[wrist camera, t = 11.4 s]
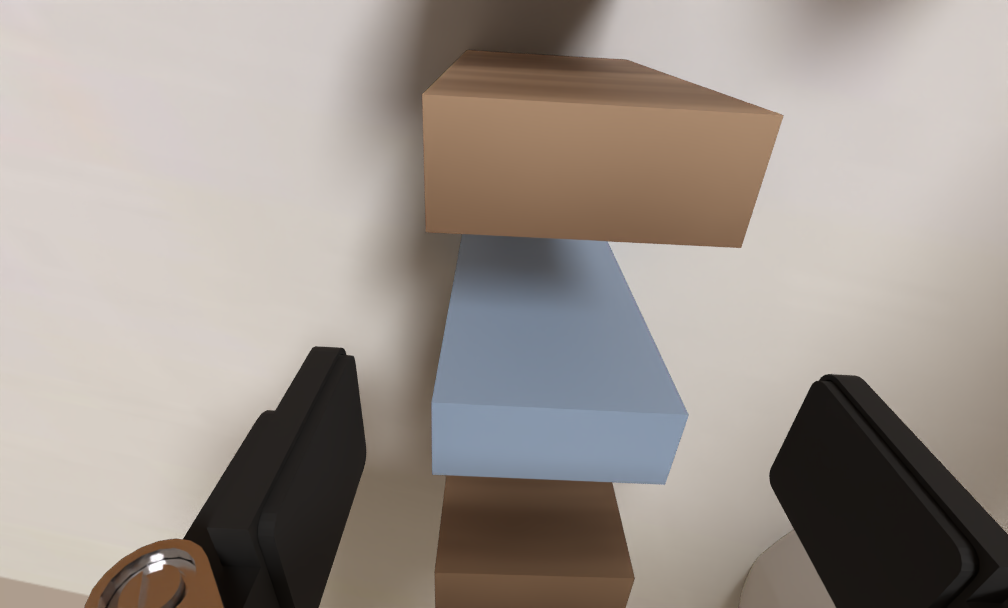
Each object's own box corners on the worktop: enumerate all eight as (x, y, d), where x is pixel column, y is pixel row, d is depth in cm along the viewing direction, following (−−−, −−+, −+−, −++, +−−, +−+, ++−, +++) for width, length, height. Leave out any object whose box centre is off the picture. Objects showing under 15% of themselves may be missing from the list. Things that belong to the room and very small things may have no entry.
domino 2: (462, 342, 21) (434, 572, 12) (580, 347, 21) (634, 578, 12) (461, 379, 22) (435, 616, 13) (574, 383, 22) (621, 621, 13)
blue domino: (465, 217, 18) (431, 402, 9) (600, 226, 18) (688, 415, 10) (463, 266, 19) (432, 474, 10) (591, 274, 19) (665, 484, 11)
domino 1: (466, 50, 15) (422, 94, 7) (626, 59, 16) (783, 115, 7) (465, 117, 16) (425, 232, 8) (615, 126, 17) (740, 248, 8)
